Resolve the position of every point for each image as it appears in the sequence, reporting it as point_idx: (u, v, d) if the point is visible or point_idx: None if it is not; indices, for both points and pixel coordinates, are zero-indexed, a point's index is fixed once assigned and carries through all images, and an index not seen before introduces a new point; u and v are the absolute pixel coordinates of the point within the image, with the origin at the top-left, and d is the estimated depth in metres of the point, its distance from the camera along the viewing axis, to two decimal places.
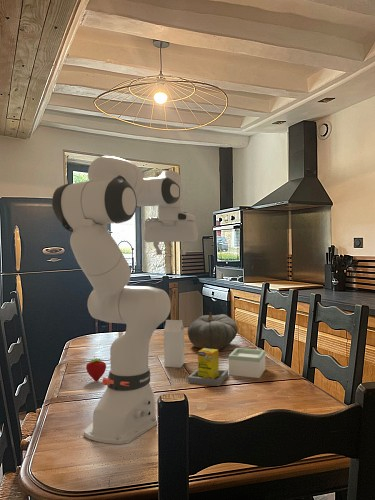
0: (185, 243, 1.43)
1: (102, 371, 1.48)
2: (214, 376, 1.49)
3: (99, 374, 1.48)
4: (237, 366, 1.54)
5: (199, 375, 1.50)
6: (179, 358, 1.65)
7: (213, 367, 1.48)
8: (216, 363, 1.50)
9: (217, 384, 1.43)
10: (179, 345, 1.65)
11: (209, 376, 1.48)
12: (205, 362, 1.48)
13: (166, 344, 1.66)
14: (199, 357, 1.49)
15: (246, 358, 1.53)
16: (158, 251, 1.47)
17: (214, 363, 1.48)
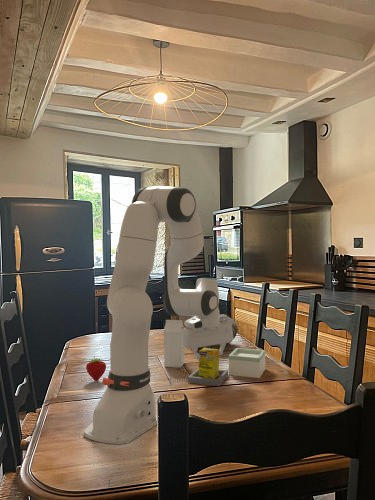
0: None
1: (102, 371, 1.48)
2: (215, 376, 1.49)
3: (99, 374, 1.48)
4: (237, 366, 1.54)
5: (200, 375, 1.49)
6: (179, 358, 1.65)
7: (214, 367, 1.48)
8: (217, 363, 1.51)
9: (217, 384, 1.43)
10: (179, 345, 1.65)
11: (210, 376, 1.48)
12: (206, 362, 1.48)
13: (166, 344, 1.66)
14: None
15: (246, 358, 1.53)
16: None
17: (215, 363, 1.49)
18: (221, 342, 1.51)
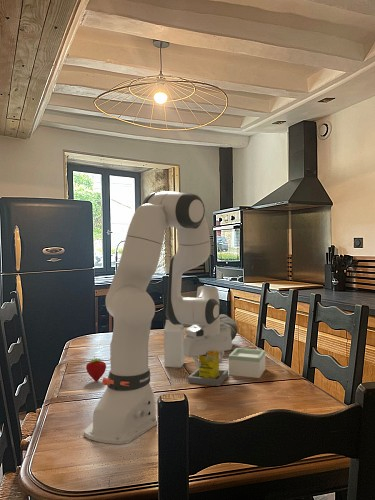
0: None
1: (102, 371, 1.48)
2: (215, 375, 1.49)
3: (99, 374, 1.48)
4: (237, 366, 1.54)
5: (200, 375, 1.49)
6: (179, 358, 1.65)
7: (214, 367, 1.48)
8: (217, 363, 1.51)
9: (217, 384, 1.43)
10: (179, 345, 1.65)
11: (210, 376, 1.48)
12: (206, 362, 1.48)
13: (166, 344, 1.66)
14: (200, 357, 1.49)
15: (246, 358, 1.53)
16: None
17: (215, 363, 1.49)
18: (221, 350, 1.52)
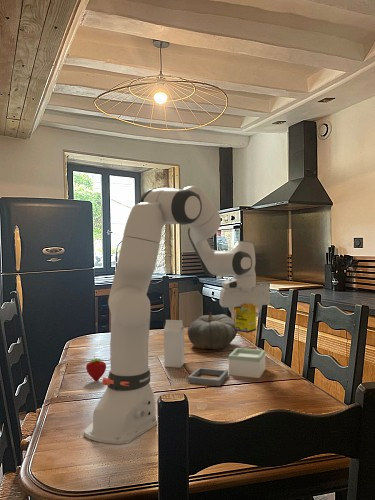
0: None
1: (102, 371, 1.48)
2: (250, 327, 1.55)
3: (99, 374, 1.48)
4: (237, 366, 1.54)
5: (236, 326, 1.57)
6: (179, 358, 1.65)
7: (249, 319, 1.55)
8: (253, 316, 1.57)
9: (217, 384, 1.43)
10: (179, 345, 1.65)
11: (245, 327, 1.55)
12: (241, 314, 1.55)
13: (166, 344, 1.66)
14: (236, 309, 1.57)
15: (246, 358, 1.53)
16: None
17: (250, 315, 1.55)
18: (257, 304, 1.57)
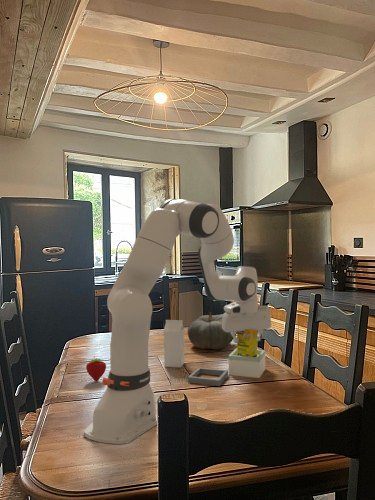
0: None
1: (102, 371, 1.48)
2: (252, 354, 1.56)
3: (99, 374, 1.48)
4: (237, 366, 1.54)
5: (238, 352, 1.58)
6: (179, 358, 1.65)
7: (251, 345, 1.55)
8: (254, 342, 1.57)
9: (217, 384, 1.43)
10: (179, 345, 1.65)
11: (247, 353, 1.55)
12: (243, 340, 1.56)
13: (166, 344, 1.66)
14: (238, 335, 1.57)
15: (246, 358, 1.53)
16: None
17: (252, 342, 1.56)
18: (259, 328, 1.58)
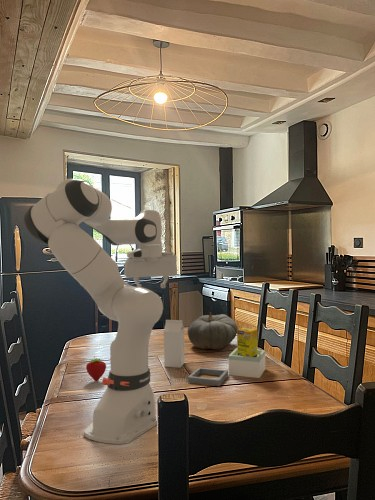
0: None
1: (102, 371, 1.48)
2: (252, 354, 1.56)
3: (99, 374, 1.48)
4: (237, 366, 1.54)
5: (238, 352, 1.58)
6: (179, 358, 1.65)
7: (251, 345, 1.55)
8: (255, 342, 1.57)
9: (217, 384, 1.43)
10: (179, 345, 1.65)
11: (247, 353, 1.55)
12: (243, 340, 1.56)
13: (166, 344, 1.66)
14: (238, 335, 1.57)
15: (246, 358, 1.53)
16: None
17: (252, 342, 1.56)
18: (163, 274, 1.53)
